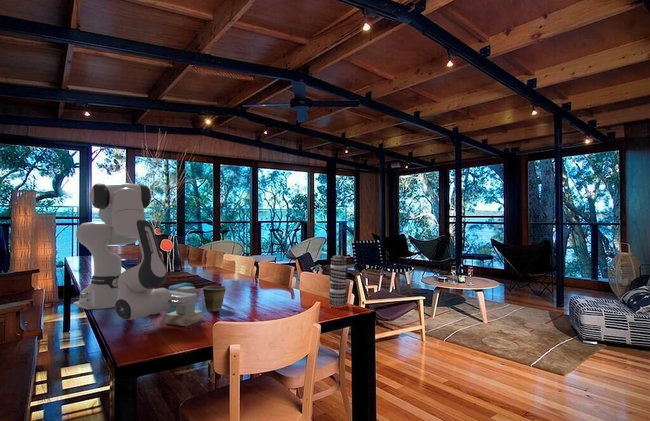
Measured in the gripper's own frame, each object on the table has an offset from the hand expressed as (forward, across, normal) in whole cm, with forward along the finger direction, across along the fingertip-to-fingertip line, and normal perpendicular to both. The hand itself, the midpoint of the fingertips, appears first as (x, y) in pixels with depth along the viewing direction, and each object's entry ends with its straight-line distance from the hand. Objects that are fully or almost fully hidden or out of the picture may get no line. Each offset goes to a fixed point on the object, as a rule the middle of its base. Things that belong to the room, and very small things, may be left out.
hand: (186, 293), depth 150 cm
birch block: (-1, 0, +12) cm, 12 cm away
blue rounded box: (+10, +13, +11) cm, 20 cm away
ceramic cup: (+21, +4, +11) cm, 24 cm away
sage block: (-1, 0, +7) cm, 7 cm away
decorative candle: (+54, -46, +11) cm, 71 cm away
